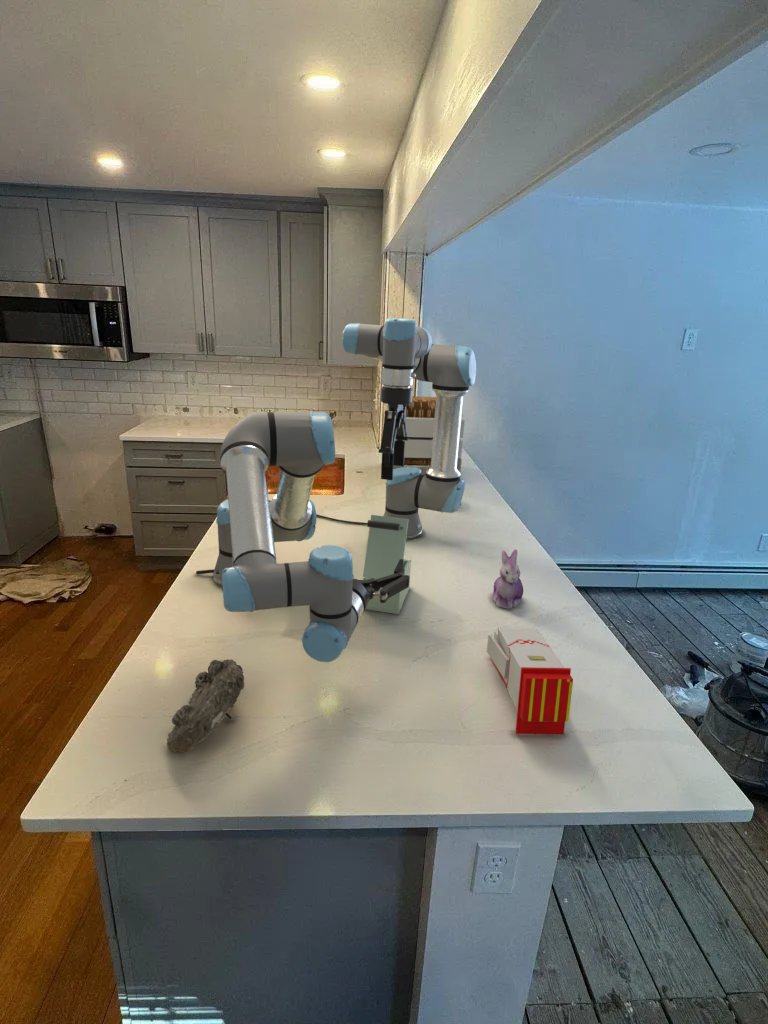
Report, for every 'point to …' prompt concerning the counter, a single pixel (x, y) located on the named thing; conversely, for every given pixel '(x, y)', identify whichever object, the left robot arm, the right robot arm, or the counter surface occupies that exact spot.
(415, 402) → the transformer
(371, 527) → the lid
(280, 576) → the left robot arm
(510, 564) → the figurine
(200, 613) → the counter surface
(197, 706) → the fossil
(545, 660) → the toy
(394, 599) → the chest
